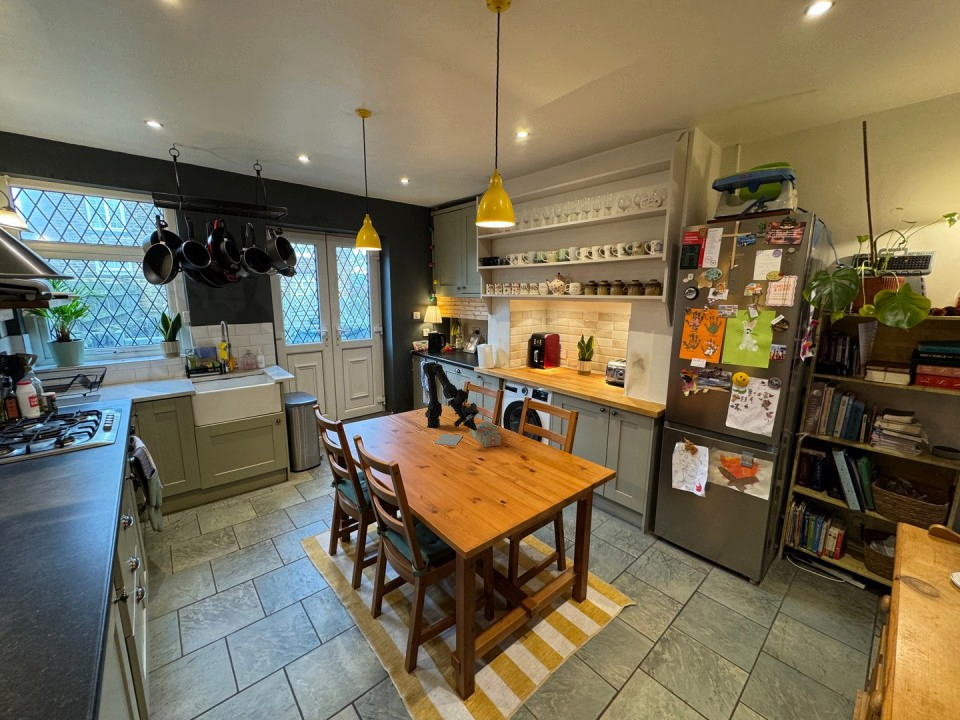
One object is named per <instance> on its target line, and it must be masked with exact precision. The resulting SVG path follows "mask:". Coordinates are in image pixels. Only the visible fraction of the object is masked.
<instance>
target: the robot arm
mask: <svg viewBox="0 0 960 720" xmlns="http://www.w3.org/2000/svg"><path fill="white" fill-rule="evenodd" d="M422 369H423V370H422V371H423V373H424V375H425V376H426V378H427V385H428V386H427V387H428V395H429V396H428V397H429V402H428V404H427V409H426V411H425V412H424V416H425V418H427V425H426V428H429V429H437V428H439V427H440V425H441V418H440V417H442V413H443V405H442V403H441V402H440V401H439V399H438V388H437V379H438V381H439V383H440V384H441V387H442V393H443V396H444V397H445V400H446V399H447V400H448V401H447V406H448V407H451V408H452V409H453V411H454V415H457V416H458V418H457V419H456V420H455V422H453V426H454V427H455V428H456V429H457V428H458V427H459V426H461V424H462V426H464V427H466V428H468V429H469V430H470V429H472V430H474V431H476V430H477V428H476V425H475V423H476V422H475V417H476V415H478V414H480V411H479V410H478V408H477V407H478V405H477V404H476V402H472V403H470V405H469V406H467V405H464V403H465V402H466V401H467V399H468V398H469V394H468V392H467V391H465V390H463V388H459V389H458V388H457V387H456V385H454V384H453V383H451V381H450V380H449V378H448V375H447V374H446V372H445V370H444V369H443V365H442V364H440V363H437V362H435V361H431V362H425V363H424V364H423V365H422ZM436 377H437V379H436ZM449 399H450V400H449Z"/></svg>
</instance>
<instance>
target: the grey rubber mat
mask: <svg viewBox="0 0 960 720" xmlns="http://www.w3.org/2000/svg"><path fill="white" fill-rule="evenodd" d="M462 438H463V435H458V434H450V433H449V434H448V433H442V434H441V435H440V436H439V438H438V439H437V440H436V441H435V442H434V444H435V445H441V444H442V445H443V446H452V447H454V446H455V447H456V446H457V445H458V444H459V442H460V441H461V440H462Z"/></svg>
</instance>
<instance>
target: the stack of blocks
mask: <svg viewBox="0 0 960 720" xmlns="http://www.w3.org/2000/svg"><path fill="white" fill-rule="evenodd" d="M475 425H476V428H477V430H476V431H474V430H472V429H470V428H469V435H470V436H472V438H474V439H475V440H476V441H478V443H480V444H481V446H483V447H484V448H490V447H495V446H497V445H498V446H501V441H502V439H501V437H502V436H501V433H499V428H498V427H497V426H496V425H495V424H493V423H492V422H490V421H489V420H486V421H480V422H475ZM498 446H497V447H498Z"/></svg>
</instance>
